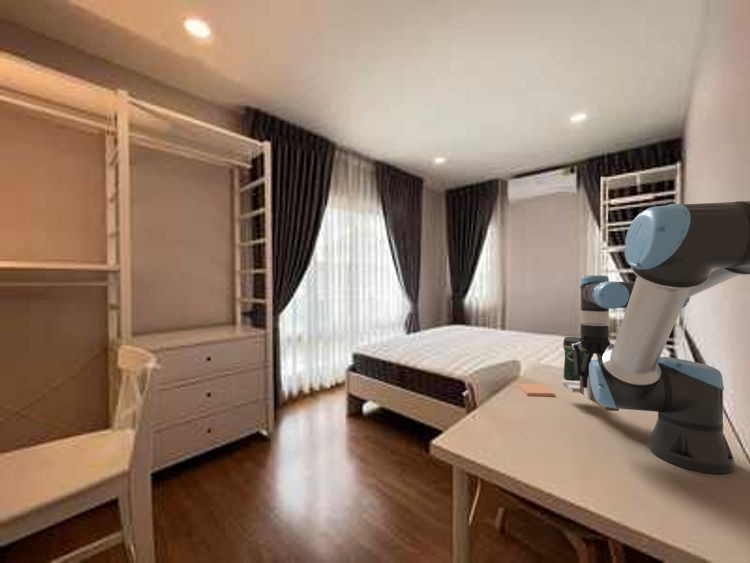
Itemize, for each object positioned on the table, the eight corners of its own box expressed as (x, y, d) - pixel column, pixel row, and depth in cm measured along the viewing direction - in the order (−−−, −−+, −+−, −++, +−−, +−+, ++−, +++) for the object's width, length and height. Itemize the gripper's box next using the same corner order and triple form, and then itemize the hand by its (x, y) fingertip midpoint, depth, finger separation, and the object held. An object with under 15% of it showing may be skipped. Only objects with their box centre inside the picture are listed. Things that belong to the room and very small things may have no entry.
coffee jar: (590, 379, 149) (590, 337, 149) (586, 383, 144) (586, 339, 144) (566, 375, 156) (566, 335, 156) (561, 379, 150) (561, 337, 150)
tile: (554, 393, 127) (542, 384, 139) (526, 392, 128) (517, 383, 140) (554, 397, 127) (542, 387, 139) (526, 396, 128) (517, 387, 140)
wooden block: (627, 411, 98) (627, 379, 98) (597, 409, 99) (597, 378, 99) (584, 384, 123) (584, 359, 123) (560, 383, 124) (560, 358, 124)
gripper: (616, 323, 111) (616, 395, 111) (561, 322, 113) (561, 393, 113) (630, 326, 103) (630, 403, 103) (571, 325, 105) (571, 400, 105)
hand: (594, 397), depth 108 cm, fingers closed on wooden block, 3 cm apart
